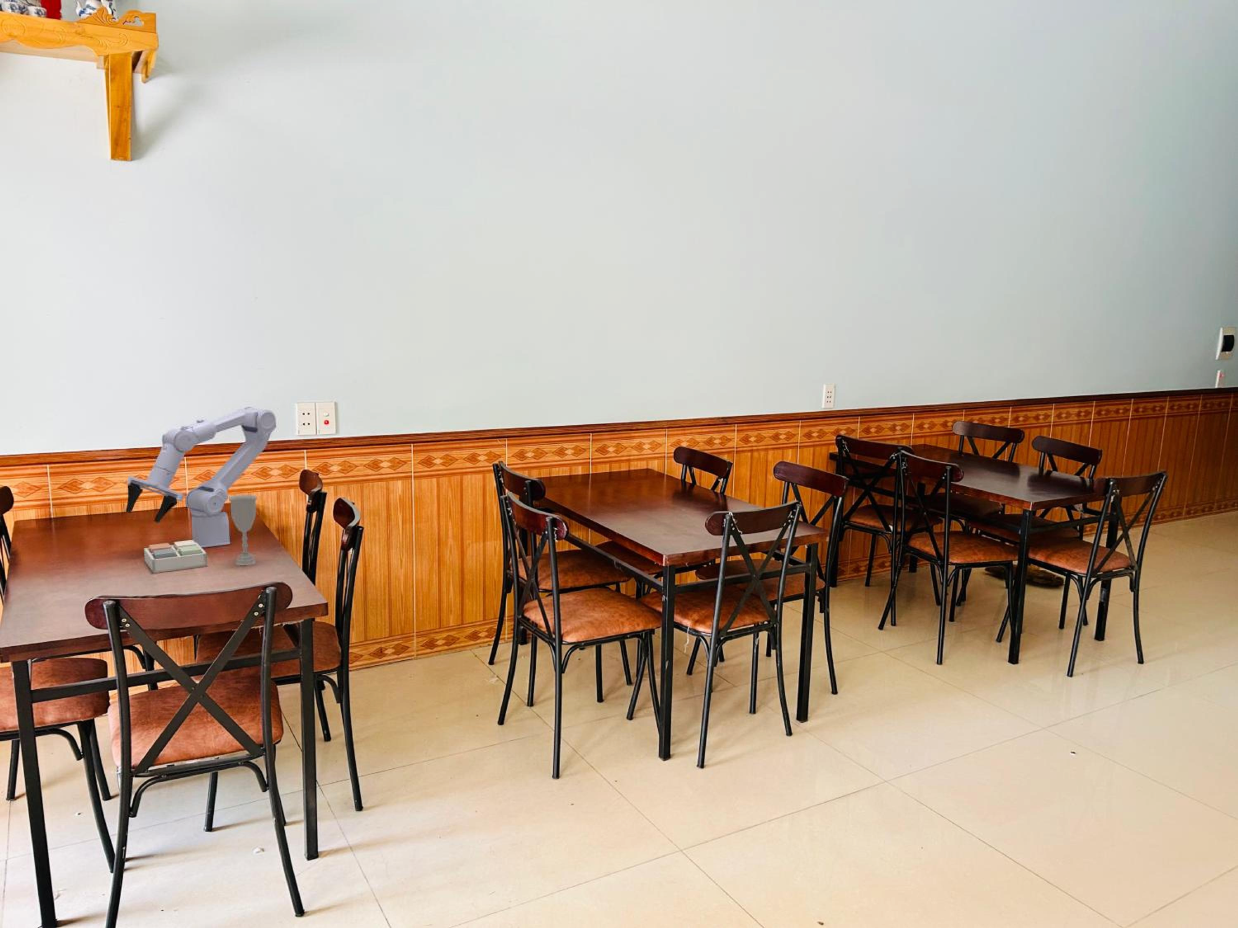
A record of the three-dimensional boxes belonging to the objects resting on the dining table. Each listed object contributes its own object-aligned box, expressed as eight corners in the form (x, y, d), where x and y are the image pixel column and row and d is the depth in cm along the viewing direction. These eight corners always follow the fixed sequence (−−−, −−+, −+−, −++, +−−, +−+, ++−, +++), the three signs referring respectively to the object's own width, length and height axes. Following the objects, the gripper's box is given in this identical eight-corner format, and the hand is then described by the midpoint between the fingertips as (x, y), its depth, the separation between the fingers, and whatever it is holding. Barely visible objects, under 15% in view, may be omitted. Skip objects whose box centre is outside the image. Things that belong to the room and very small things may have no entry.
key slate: (172, 557, 238) (172, 548, 238) (176, 561, 234) (175, 552, 234) (153, 559, 235) (153, 550, 235) (156, 564, 232) (156, 554, 231)
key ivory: (193, 548, 246) (192, 539, 246) (196, 552, 243) (196, 543, 242) (174, 550, 244) (174, 542, 243) (177, 555, 240) (177, 546, 240)
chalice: (265, 561, 244) (263, 496, 241) (247, 567, 238) (244, 501, 235) (243, 557, 246) (240, 493, 243) (225, 564, 240) (222, 498, 237)
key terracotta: (168, 551, 243) (168, 542, 242) (171, 555, 239) (171, 546, 239) (149, 554, 240) (149, 545, 240) (152, 558, 237) (152, 549, 236)
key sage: (197, 554, 242) (197, 545, 241) (201, 558, 238) (201, 549, 238) (179, 556, 239) (178, 547, 238) (182, 560, 235) (182, 551, 235)
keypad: (196, 554, 248) (196, 541, 248) (207, 566, 238) (206, 553, 237) (144, 560, 241) (143, 548, 240) (153, 573, 231) (152, 560, 230)
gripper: (132, 458, 240) (109, 505, 237) (186, 476, 242) (164, 523, 238) (141, 463, 247) (118, 509, 243) (193, 481, 249) (172, 527, 245)
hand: (142, 517), depth 241 cm, fingers open, 7 cm apart
